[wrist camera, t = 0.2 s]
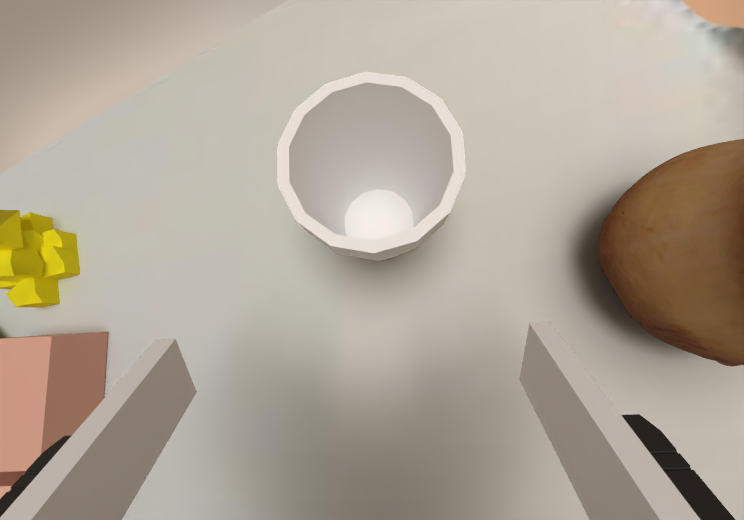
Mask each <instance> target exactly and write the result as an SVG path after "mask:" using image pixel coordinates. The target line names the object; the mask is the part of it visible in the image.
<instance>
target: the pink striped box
mask: <svg viewBox="0 0 744 520" xmlns="http://www.w3.org/2000/svg"><path fill="white" fill-rule="evenodd" d="M107 342H108V332H101V333H82V334H62V335H43V336H28V337H13V338H0V472H12V471H26V470H27V469H28V468H29V467H30V466H31V465H32V464H33V463H34V461H35V460H36V459H37V458H38V457H39V456H40V455H41V454H42V453H43V452H44V451H45V450H47V449H48V448H49V447H50V446H52V445H53V444H54V443H56V442H57V441H58V440H60V439H61V438H62V437H63V436H71V435H73V434H74V432H75V431H76V430H77V429H78V428H79V427H80V426H81V424H82V423H83V422H84V421H85V420H86V419H87V418H88V416H89V415H90V414H91V413H92V412H93V411H94V410H95V408H96V407H97V406H98V405H99V404H100V403H101V402H102V400H103V399H104V389H105V373H106V358H107Z"/></svg>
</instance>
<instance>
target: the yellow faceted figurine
mask: <svg viewBox="0 0 744 520" xmlns="http://www.w3.org/2000/svg"><path fill="white" fill-rule="evenodd" d="M79 274H80V268H79V259H78V249H77V239H76V235H75V234H71V233H67V232H63V231H59V230H55V229H53V226H52V218H48V217H45V216H41V215H38V214H34V213H28V214H26V215H24V216H22V217H20V210H0V289H11V290H10V291H9V292H8V293H7V294H6V295H7V296H8V297H9V299H10V300H11V301H12V302H13V304H14V305H15V306H16V307H46V306H50V305H54V304H58V303H60V302H59V291H58V280H59V279H63V278H67V277H71V276H75V275H79Z"/></svg>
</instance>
